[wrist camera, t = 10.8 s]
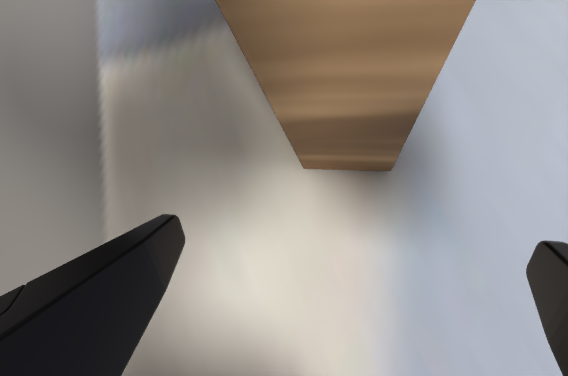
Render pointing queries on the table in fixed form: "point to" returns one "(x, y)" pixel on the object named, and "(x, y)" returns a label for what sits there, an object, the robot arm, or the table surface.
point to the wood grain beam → (346, 70)
